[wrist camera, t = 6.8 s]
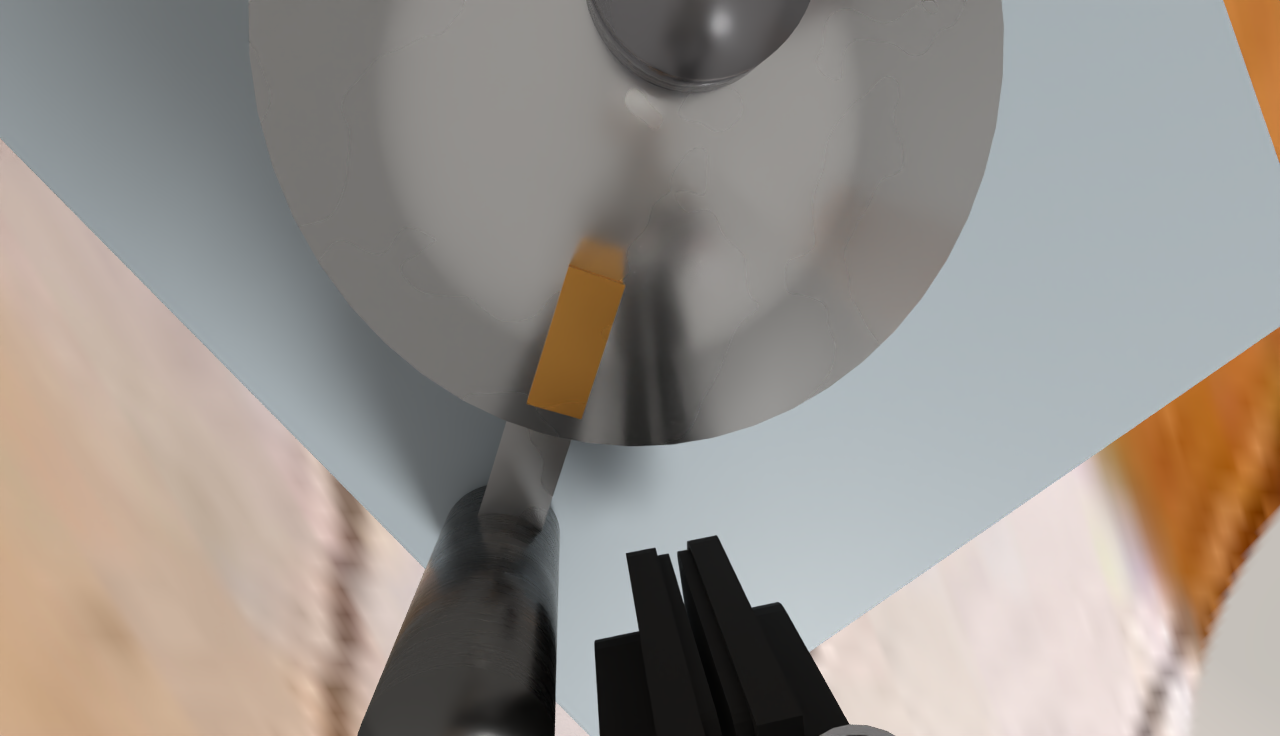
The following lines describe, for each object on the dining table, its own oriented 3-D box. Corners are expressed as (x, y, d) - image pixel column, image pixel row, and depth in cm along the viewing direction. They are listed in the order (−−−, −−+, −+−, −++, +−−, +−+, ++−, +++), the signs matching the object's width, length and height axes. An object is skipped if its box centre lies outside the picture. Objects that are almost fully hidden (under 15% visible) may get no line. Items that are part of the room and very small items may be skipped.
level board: (1, 56, 11) (-594, -121, 6) (863, -646, 10) (1239, -1747, 5) (622, 711, 17) (651, 974, 11) (1231, 286, 16) (1622, 323, 10)
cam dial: (422, -325, 9) (232, -1037, 4) (977, -49, 11) (1335, -287, 6) (237, 530, 12) (-13, 761, 7) (702, 633, 14) (781, 875, 8)
